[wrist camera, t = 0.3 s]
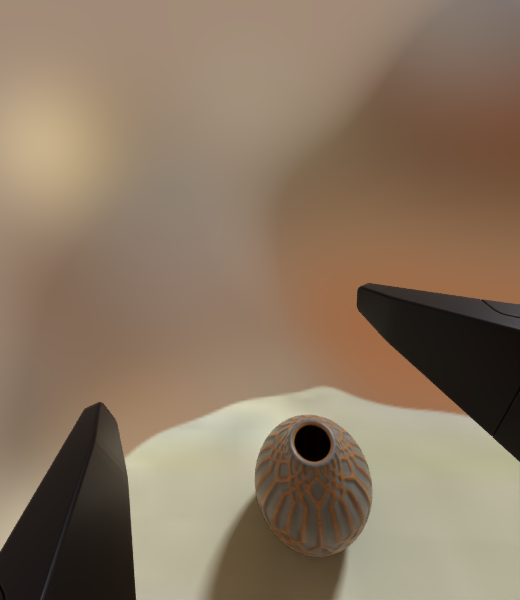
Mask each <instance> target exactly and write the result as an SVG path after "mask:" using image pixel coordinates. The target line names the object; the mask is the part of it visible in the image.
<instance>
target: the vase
mask: <svg viewBox="0 0 520 600" xmlns="http://www.w3.org/2000/svg"><path fill="white" fill-rule="evenodd" d="M255 489H256V495H257V500H258V503H259V507H260V509H261V512H262V514H263V516H264V518H265V520H266V522H267V524H268V526H269V527H270V528H271V530H272V531H273V532H274V534H275V535H276V536H277V537H278V538H279V539H280V540H281V541H282V542H283V543H284V544H285V545H287V546H288V547H289V548H291V549H293V550H295V551H296V552H299V553H301V554H304V555H307V556H313V557H325V556H331V555H334V554H337V553H339V552H341V551H343V550H344V549H346V548H347V547H348V546H350V545H351V544H352V543H353V542H354V541H355V540H356V539H357V537H358V536H359V535H360V533H361V532H362V530H363V528H364V526H365V524H366V522H367V519H368V517H369V513H370V509H371V504H372V482H371V476H370V472H369V468H368V465H367V462H366V460H365V457H364V455H363V453H362V451H361V449H360V448H359V446H358V444H357V443H356V441H355V440H354V439H353V438H352V436H351V435H350V434H349V433H348V432H347V431H346V430H344V429H343V428H342V427H341V426H339V425H338V424H336V423H335V422H333V421H331V420H329V419H326V418H324V417H320V416H315V415H301V416H296V417H292V418H290V419H288V420H286V421H284V422H282V423H281V424H279V425H278V426H277V427H276V428H275V429H274V430H273V431H272V432H271V433H270V434H269V436H268V437H267V438H266V440H265V442H264V443H263V446H262V448H261V450H260V452H259V456H258V459H257V463H256V469H255Z"/></svg>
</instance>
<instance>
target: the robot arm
mask: <svg viewBox="0 0 520 600" xmlns="http://www.w3.org/2000/svg"><path fill="white" fill-rule="evenodd" d="M357 308H358V310H359V312H360V313H362V315H363V316H364V317H365V318H366V319H367V320H368V322H369V323H370V324H371V325H372V326H373V327H374V328H375V329H376V330H377V331H378V333H379V334H380V335H381V336H382V337H383V338H384V339H385V340H386V341H387V342H388V343H389V344H390V345H391V346H393V347H394V348H395V349H396V350H397V351H398V352H399V353H400V354H402V356H404V357H405V358H406V359H407V360H408V361H409V362H410V363H411V364H412V365H413V366H415V367H416V368H417V369H418V370H419V371H420V372H421V373H422V374H424V375H425V376H426V377H427V378H428V379H429V380H430V381H431V382H432V383H433V384H435V385H436V386H437V387H438V388H439V389H440V390H441V391H442V392H443V393H444V394H446V395H447V396H448V397H449V398H450V399H451V400H452V401H454V403H456V404H457V405H458V406H459V407H460V408H461V409H462V410H463V411H464V412H466V413H467V414H468V415H469V416H470V417H471V418H472V419H473V420H474V421H475V422H477V423H478V424H479V425H480V426H481V427H482V428H483V429H484V430H485V431H486V432H488V433H489V434H490V435H491V436H493V438H494V439H495V440H496V441H497V442H498V443H500V444H501V445H502V446H503V447H504V448H505V449H506V450H507V451H508V452H509V453H511V454H512V455H513V456H514V457H515V458H516V459H517V460H518V461H519V462H520V304H511V303H503V302H496V301H490V300H480V299H475V298H468V297H462V296H455V295H447V294H441V293H433V292H427V291H419V290H413V289H406V288H399V287H392V286H385V285H379V284H372V283H367V284H365V285H362V286H360V287H359V288H358V291H357ZM0 600H136V593H135V578H134V563H133V547H132V532H131V517H130V502H129V487H128V476H127V471H126V465H125V460H124V455H123V450H122V445H121V440H120V434H119V429H118V425H117V422H116V420H115V418H114V417H113V415H112V414H111V413H110V411H109V410H108V409H107V407H106V406H105V405H104V404H103V403H101V402H98V403H96V404H94V405H91V406H89V407H87V408H85V409H84V411H83V412H82V414H81V416H80V417H79V419H78V421H77V422H76V424H75V426H74V427H73V429H72V431H71V433H70V434H69V436H68V438H67V439H66V441H65V443H64V444H63V446H62V448H61V450H60V451H59V453H58V454H57V456H56V458H55V460H54V461H53V463H52V465H51V466H50V468H49V470H48V471H47V473H46V475H45V477H44V478H43V480H42V482H41V483H40V485H39V487H38V488H37V490H36V492H35V493H34V495H33V497H32V499H31V500H30V502H29V504H28V506H27V507H26V509H25V511H24V512H23V514H22V516H21V517H20V519H19V521H18V522H17V524H16V526H15V527H14V529H13V531H12V532H11V534H10V536H9V537H8V539H7V541H6V543H5V544H4V546H3V548H2V549H1V551H0Z"/></svg>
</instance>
